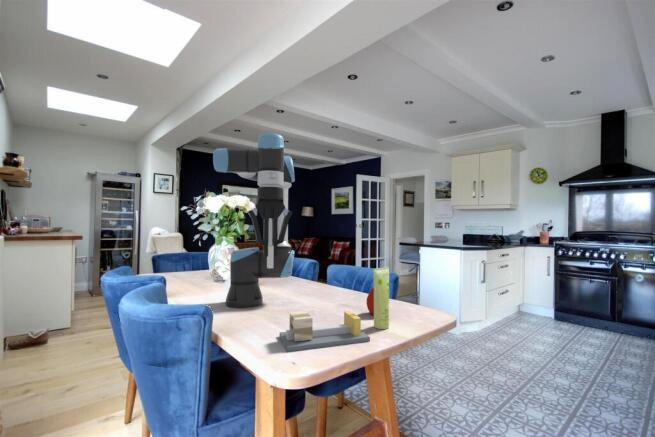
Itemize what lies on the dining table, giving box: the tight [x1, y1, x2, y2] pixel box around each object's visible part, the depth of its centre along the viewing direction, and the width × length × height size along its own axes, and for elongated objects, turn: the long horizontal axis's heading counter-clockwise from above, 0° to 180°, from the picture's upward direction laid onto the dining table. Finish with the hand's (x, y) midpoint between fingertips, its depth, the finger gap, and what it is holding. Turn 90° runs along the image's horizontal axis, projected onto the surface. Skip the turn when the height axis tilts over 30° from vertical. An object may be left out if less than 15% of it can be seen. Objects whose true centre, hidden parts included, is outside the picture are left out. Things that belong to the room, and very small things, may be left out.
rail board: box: [279, 310, 371, 353], centre depth 93 cm, size 12×24×6 cm, turn 109°
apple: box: [366, 286, 374, 316], centre depth 118 cm, size 8×8×11 cm
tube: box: [372, 266, 390, 330], centre depth 103 cm, size 6×5×20 cm
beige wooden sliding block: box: [289, 310, 314, 342], centre depth 90 cm, size 7×5×6 cm
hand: (270, 267), depth 92 cm, fingers closed
